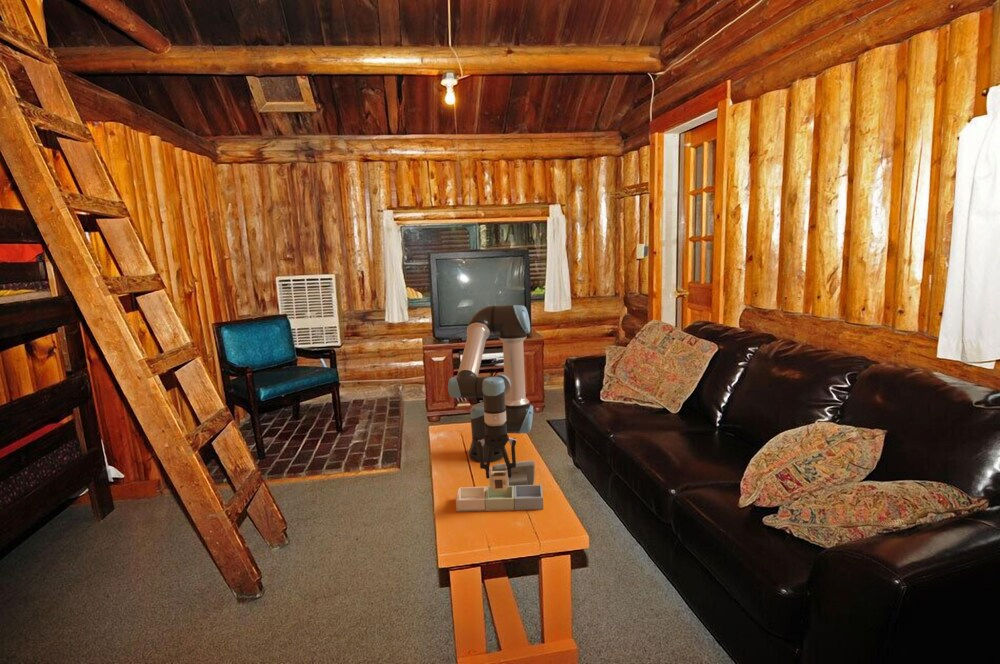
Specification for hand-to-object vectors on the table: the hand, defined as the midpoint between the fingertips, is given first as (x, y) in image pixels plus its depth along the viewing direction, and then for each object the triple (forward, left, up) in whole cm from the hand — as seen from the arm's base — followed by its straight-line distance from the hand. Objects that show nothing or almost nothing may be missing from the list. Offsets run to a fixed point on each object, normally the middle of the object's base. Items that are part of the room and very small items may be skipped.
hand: (499, 486), depth 185 cm
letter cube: (0, 0, 0) cm, 0 cm away
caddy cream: (0, -10, -7) cm, 12 cm away
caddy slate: (0, +10, -7) cm, 12 cm away
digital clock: (-12, +5, -7) cm, 14 cm away
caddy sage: (0, 0, -7) cm, 7 cm away
